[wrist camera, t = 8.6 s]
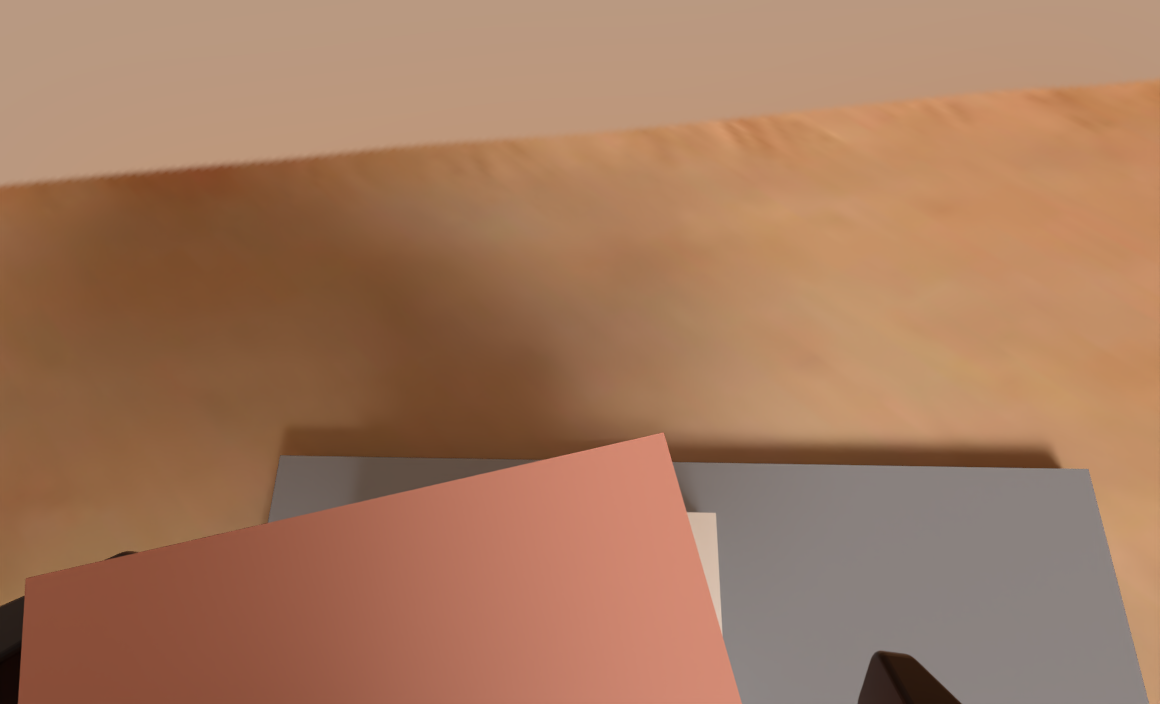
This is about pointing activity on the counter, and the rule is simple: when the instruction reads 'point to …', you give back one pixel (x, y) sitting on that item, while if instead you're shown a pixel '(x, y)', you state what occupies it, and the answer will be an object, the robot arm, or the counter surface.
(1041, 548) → the grey base plate
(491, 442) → the counter surface
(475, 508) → the red post
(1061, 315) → the counter surface
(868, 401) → the counter surface
